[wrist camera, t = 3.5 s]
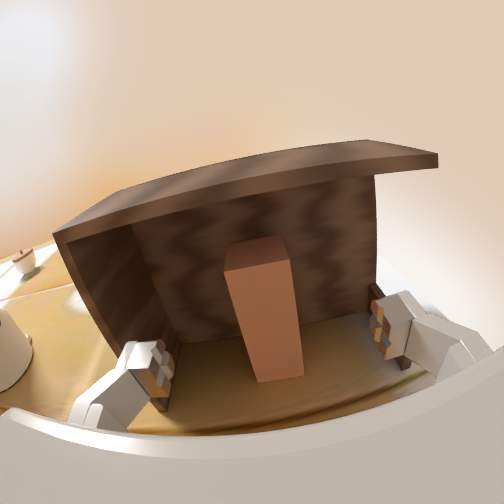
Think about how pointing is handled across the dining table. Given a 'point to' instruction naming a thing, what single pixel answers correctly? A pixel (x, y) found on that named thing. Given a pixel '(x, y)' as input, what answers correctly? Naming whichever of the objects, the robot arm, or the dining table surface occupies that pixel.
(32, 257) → the lidded jar
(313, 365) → the dining table surface
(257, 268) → the block
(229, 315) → the cubby
